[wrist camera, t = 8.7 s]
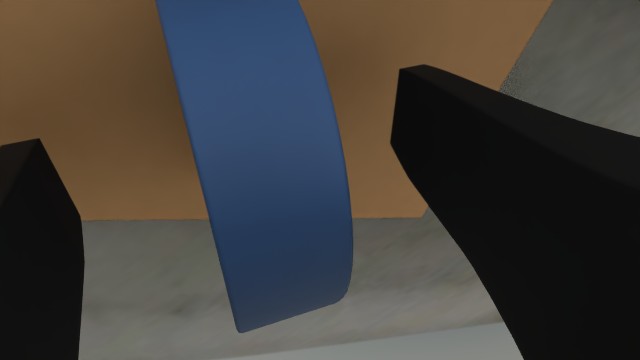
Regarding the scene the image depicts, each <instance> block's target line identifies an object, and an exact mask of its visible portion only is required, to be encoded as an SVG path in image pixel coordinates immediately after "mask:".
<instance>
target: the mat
mask: <svg viewBox="0 0 640 360" xmlns="http://www.w3.org/2000/svg"><path fill="white" fill-rule="evenodd" d="M298 1H299V3H300V5H301V7H302V10H303V12H304V14H305V16H306V19H307V22H308V24H309V27H310V29H311V32H312V35H313V37H314V40H315V43H316V46H317V49H318V52H319V55H320V58H321V61H322V65H323V68H324V71H325V74H326V78H327V82H328V86H329V89H330V93H331V97H332V100H333V104H334V109H335V113H336V118H337V122H338V127H339V131H340V136H341V141H342V147H343V152H344V158H345V163H346V170H347V177H348V184H349V191H350V201H351V212H352V218H421V217H422V216H423V214H424V212H425V211H426V209H427V207H428V204H427V203H426V202H425V200H424V199H423V198H422V196H421V195H420V193H419V192H418V191H417V189H416V188H415V187H414V185H413V184H412V182H411V181H410V180H409V178H408V176H407V175H406V173H405V171H404V169H403V168H402V166H401V164H400V162H399V160H398V158H397V156H396V154H395V152H394V150H393V148H392V146H391V144H390V138H391V130H392V122H393V115H394V107H395V99H396V91H397V83H398V76H399V69H401V68H406V67H411V66H416V65H422V64H426V65H429V66H433V67H436V68H439V69H442V70H445V71H448V72H450V73H453V74H456V75H458V76H461V77H463V78H466V79H468V80H471V81H473V82H476V83H478V84H481V85H483V86H486V87H488V88H491V89H493V90H496V91H499V89H500V87H501V86H502V84H503V82H504V81H505V79H506V77H507V76H508V74H509V72H510V71H511V69H512V68H513V66H514V64H515V63H516V61H517V59H518V58H519V56H520V54H521V53H522V51H523V49H524V48H525V46H526V45H527V43H528V41H529V40H530V38H531V36H532V35H533V33H534V31H535V30H536V28H537V26H538V25H539V23H540V22H541V20H542V18H543V17H544V15H545V13H546V12H547V10H548V8H549V7H550V5H551V3H552V2H553V0H298ZM37 138H40V140H41V142H42V144H43V146H44V148H45V149H46V151H47V153H48V155H49V157H50V159H51V161H52V163H53V165H54V166H55V168H56V170H57V172H58V174H59V176H60V178H61V180H62V182H63V184H64V185H65V187H66V189H67V191H68V193H69V195H70V197H71V199H72V201H73V203H74V204H75V206H76V208H77V210H78V212H79V214H80V216H81V220H195V219H209V216H208V212H207V208H206V204H205V200H204V196H203V192H202V188H201V184H200V180H199V176H198V172H197V168H196V164H195V160H194V156H193V152H192V148H191V144H190V140H189V136H188V132H187V128H186V124H185V120H184V116H183V112H182V108H181V104H180V100H179V96H178V92H177V88H176V83H175V79H174V75H173V71H172V67H171V63H170V59H169V55H168V51H167V47H166V43H165V39H164V35H163V31H162V27H161V23H160V19H159V15H158V11H157V7H156V3H155V0H0V147H1V146H2V145H5V144H11V143H16V142H21V141H26V140H31V139H37Z"/></svg>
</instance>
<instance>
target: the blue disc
mask: <svg viewBox="0 0 640 360" xmlns="http://www.w3.org/2000/svg"><path fill="white" fill-rule="evenodd" d="M155 3H156V7H157V11H158V15H159V19H160V23H161V27H162V31H163V35H164V39H165V43H166V47H167V51H168V55H169V59H170V63H171V67H172V71H173V75H174V79H175V83H176V88H177V92H178V96H179V100H180V104H181V108H182V112H183V116H184V120H185V124H186V128H187V132H188V136H189V140H190V144H191V148H192V152H193V156H194V160H195V164H196V168H197V172H198V176H199V180H200V184H201V188H202V192H203V196H204V200H205V204H206V208H207V212H208V216H209V220H210V224H211V228H212V232H213V236H214V240H215V244H216V248H217V253H218V257H219V261H220V265H221V269H222V273H223V277H224V281H225V285H226V289H227V293H228V297H229V301H230V305H231V309H232V313H233V317H234V321H235V325H236V329H237V331H238V332H239V333H244V332H247V331H250V330H254V329H257V328H260V327H263V326H266V325H269V324H272V323H275V322H278V321H281V320H285V319H288V318H291V317H294V316H297V315H300V314H303V313H306V312H309V311H312V310H315V309H319V308H322V307H325V306H328V305H331V304H334V303H336V302H338V301H340V300H341V299H342V298H343V297H344V295H345V294H346V292H347V290H348V286H349V283H350V279H351V272H352V262H353V228H352V212H351V201H350V191H349V184H348V177H347V170H346V163H345V158H344V152H343V147H342V141H341V136H340V131H339V127H338V122H337V118H336V113H335V109H334V104H333V100H332V97H331V93H330V89H329V86H328V82H327V78H326V74H325V71H324V68H323V65H322V61H321V58H320V55H319V52H318V49H317V46H316V43H315V40H314V37H313V35H312V32H311V29H310V27H309V24H308V22H307V19H306V16H305V14H304V12H303V10H302V7H301V5H300V3H299V1H298V0H155Z"/></svg>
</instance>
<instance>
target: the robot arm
mask: <svg viewBox="0 0 640 360" xmlns="http://www.w3.org/2000/svg"><path fill="white" fill-rule="evenodd" d="M390 144H391V146H392V148H393V150H394V152H395V154H396V156H397V158H398V160H399V162H400V164H401V166H402V168H403V169H404V171H405V173H406V175H407V176H408V178H409V180H410V181H411V182H412V184H413V185H414V187H415V188H416V189H417V191H418V192H419V193H420V195H421V196H422V198H423V199H424V200H425V202H426V203H427V204H428V206H429V207H430V208H431V210H432V211H433V212H434V214H435V215H436V216H437V218H438V219H439V220H440V222H441V223H442V224H443V226H444V227H445V228H446V230H447V231H448V232H449V234H450V235H451V236H452V238H453V239H454V240H455V242H456V243H457V244H458V246H459V247H460V248H461V250H462V251H463V253H464V254H465V256H466V257H467V259H468V260H469V262H470V263H471V265H472V266H473V268H474V270H475V271H476V273H477V275H478V276H479V278H480V280H481V282H482V283H483V285H484V287H485V288H486V290H487V292H488V293H489V295H490V297H491V299H492V300H493V302H494V304H495V306H496V308H497V309H498V311H499V313H500V315H501V317H502V318H503V320H504V322H505V324H506V326H507V328H508V329H509V331H510V333H511V335H512V337H513V339H514V341H515V343H516V345H517V346H518V349H519V350H520V353H521V355H522V356H523V359H524V360H640V137H636V136H632V135H628V134H624V133H621V132H617V131H613V130H610V129H606V128H602V127H599V126H595V125H592V124H588V123H585V122H581V121H578V120H575V119H572V118H569V117H566V116H563V115H560V114H557V113H554V112H551V111H548V110H546V109H543V108H540V107H537V106H534V105H532V104H529V103H526V102H524V101H521V100H518V99H516V98H513V97H511V96H508V95H506V94H503V93H501V92H498V91H496V90H493V89H491V88H488V87H486V86H483V85H481V84H478V83H476V82H473V81H471V80H468V79H466V78H463V77H461V76H458V75H456V74H453V73H450V72H448V71H445V70H442V69H439V68H436V67H433V66H429V65H426V64H422V65H416V66H411V67H406V68H401V69H399V76H398V83H397V91H396V99H395V107H394V115H393V122H392V130H391V138H390ZM84 263H85V261H84V246H83V235H82V224H81V216H80V214H79V212H78V210H77V208H76V206H75V204H74V203H73V201H72V199H71V197H70V195H69V193H68V191H67V189H66V187H65V185H64V184H63V182H62V180H61V178H60V176H59V174H58V172H57V170H56V168H55V166H54V165H53V163H52V161H51V159H50V157H49V155H48V153H47V151H46V149H45V148H44V146H43V144H42V142H41V140H40V138H37V139H31V140H26V141H21V142H16V143H11V144H5V145H2V146H1V147H0V360H78V355H79V340H80V326H81V312H82V297H83V281H84Z"/></svg>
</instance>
